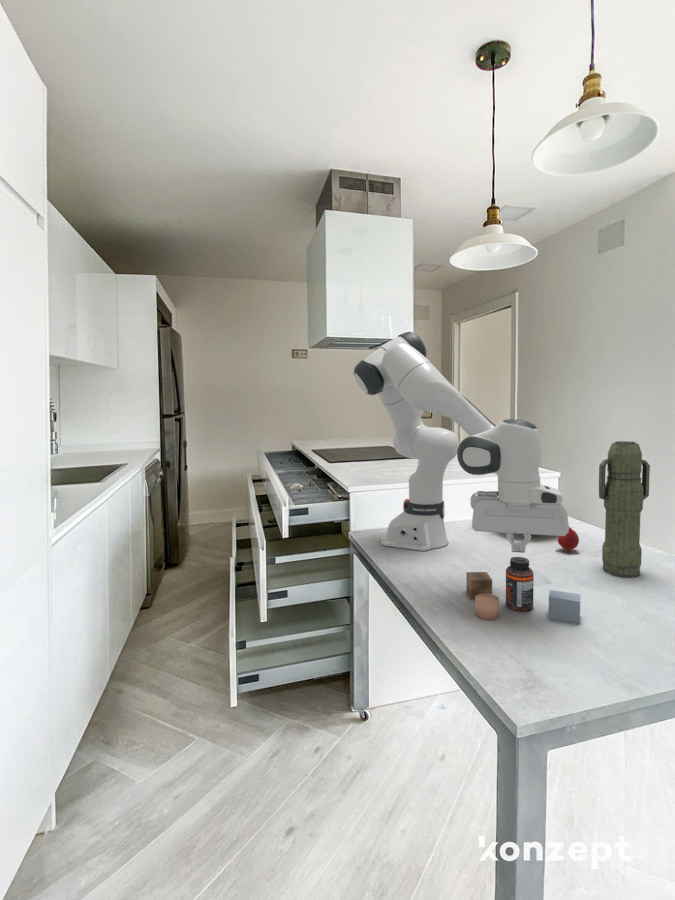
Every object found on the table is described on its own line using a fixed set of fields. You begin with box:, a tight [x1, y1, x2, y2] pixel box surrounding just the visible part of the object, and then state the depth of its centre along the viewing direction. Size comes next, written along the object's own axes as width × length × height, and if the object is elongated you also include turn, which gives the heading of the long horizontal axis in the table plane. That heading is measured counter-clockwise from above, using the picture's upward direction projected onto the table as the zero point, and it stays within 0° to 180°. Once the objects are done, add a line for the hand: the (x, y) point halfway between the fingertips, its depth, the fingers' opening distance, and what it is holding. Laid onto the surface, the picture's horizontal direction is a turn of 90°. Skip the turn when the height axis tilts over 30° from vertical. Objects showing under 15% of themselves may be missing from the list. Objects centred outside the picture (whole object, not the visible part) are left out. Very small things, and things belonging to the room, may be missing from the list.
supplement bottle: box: [505, 556, 535, 612], centre depth 104 cm, size 6×6×11 cm
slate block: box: [548, 589, 581, 625], centre depth 99 cm, size 6×4×5 cm, turn 61°
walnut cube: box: [465, 571, 493, 601], centre depth 111 cm, size 5×5×5 cm
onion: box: [557, 526, 580, 552], centre depth 139 cm, size 6×6×8 cm
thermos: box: [598, 440, 651, 579], centre depth 120 cm, size 9×12×35 cm
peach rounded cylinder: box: [474, 593, 500, 621], centre depth 101 cm, size 5×5×4 cm
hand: (518, 551), depth 103 cm, fingers closed
